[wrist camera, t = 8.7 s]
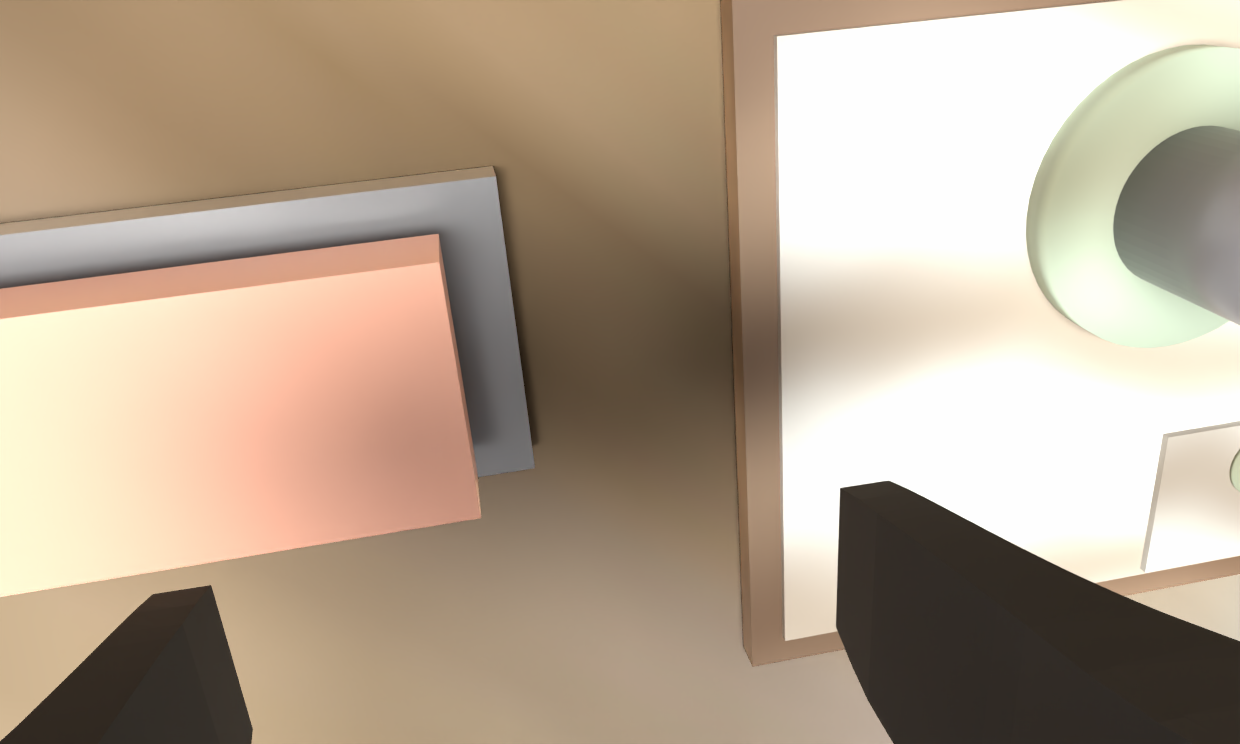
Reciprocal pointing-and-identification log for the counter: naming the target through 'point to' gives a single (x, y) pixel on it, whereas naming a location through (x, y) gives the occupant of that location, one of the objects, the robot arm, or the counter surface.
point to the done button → (228, 412)
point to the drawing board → (969, 289)
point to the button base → (315, 221)
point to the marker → (1186, 219)
